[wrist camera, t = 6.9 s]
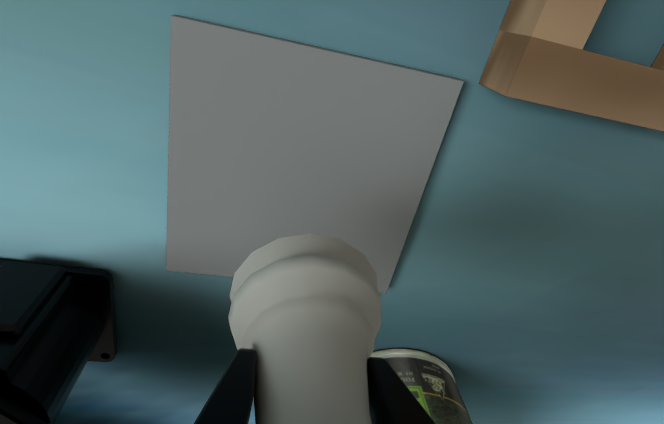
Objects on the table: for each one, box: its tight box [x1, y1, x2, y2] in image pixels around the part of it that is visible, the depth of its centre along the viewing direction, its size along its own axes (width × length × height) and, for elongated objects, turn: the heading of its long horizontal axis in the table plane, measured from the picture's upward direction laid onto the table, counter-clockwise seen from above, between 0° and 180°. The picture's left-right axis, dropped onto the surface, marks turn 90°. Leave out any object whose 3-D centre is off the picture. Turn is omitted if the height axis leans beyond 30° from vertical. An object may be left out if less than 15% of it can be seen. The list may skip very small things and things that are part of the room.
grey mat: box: [166, 15, 464, 294], centre depth 19 cm, size 12×12×1 cm
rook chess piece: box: [228, 234, 382, 424], centre depth 9 cm, size 4×4×8 cm
